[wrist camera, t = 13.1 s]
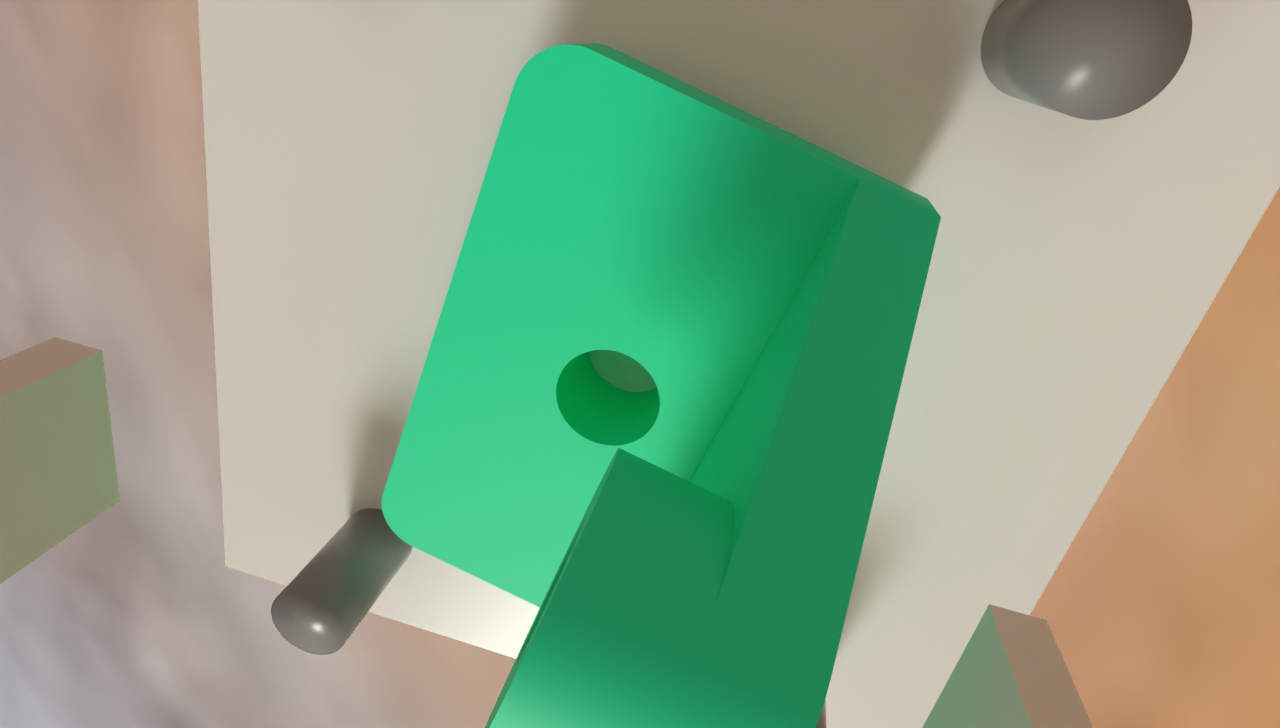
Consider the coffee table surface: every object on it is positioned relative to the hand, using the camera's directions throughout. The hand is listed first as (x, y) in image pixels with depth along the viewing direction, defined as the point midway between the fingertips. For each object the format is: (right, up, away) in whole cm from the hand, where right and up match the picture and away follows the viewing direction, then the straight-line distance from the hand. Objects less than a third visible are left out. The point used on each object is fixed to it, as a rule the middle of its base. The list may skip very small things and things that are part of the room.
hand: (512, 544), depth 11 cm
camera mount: (+2, +3, +7) cm, 8 cm away
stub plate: (+2, +4, +8) cm, 9 cm away
